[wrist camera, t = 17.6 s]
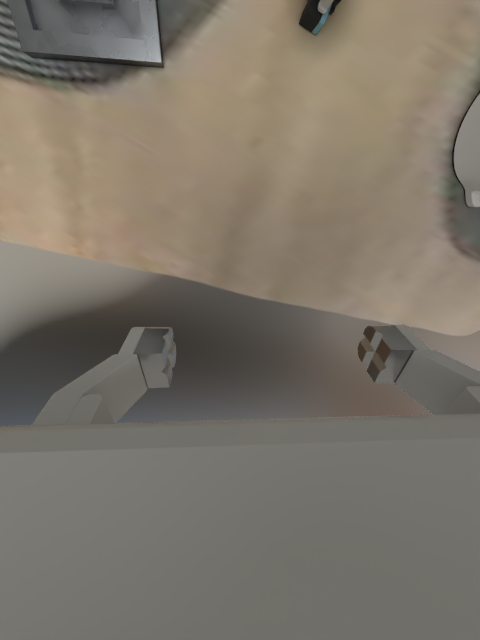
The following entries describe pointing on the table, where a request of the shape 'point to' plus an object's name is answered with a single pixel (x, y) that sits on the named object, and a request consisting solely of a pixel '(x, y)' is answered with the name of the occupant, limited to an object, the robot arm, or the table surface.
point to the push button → (317, 14)
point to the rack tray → (90, 31)
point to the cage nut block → (99, 1)
